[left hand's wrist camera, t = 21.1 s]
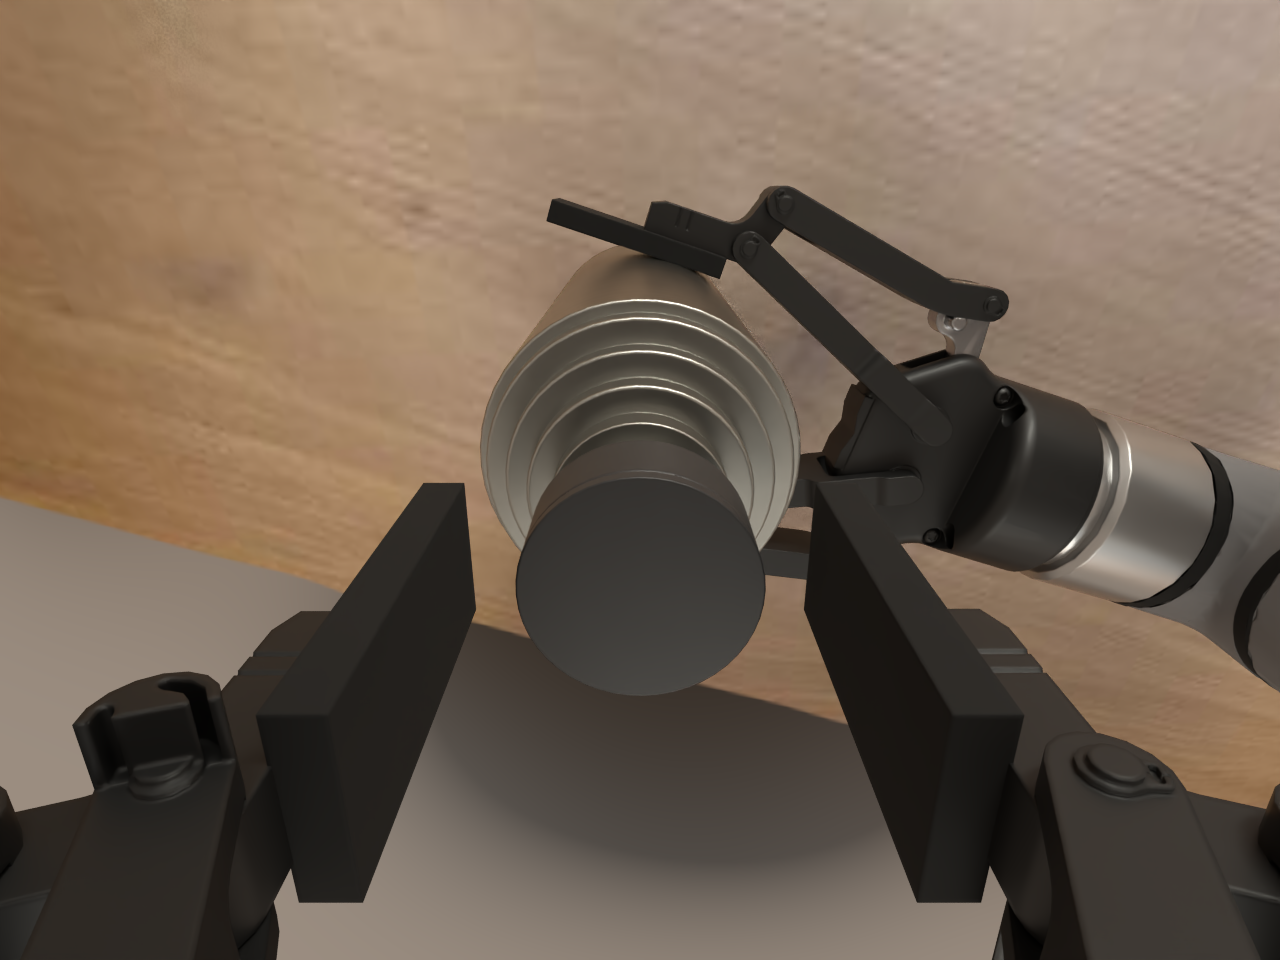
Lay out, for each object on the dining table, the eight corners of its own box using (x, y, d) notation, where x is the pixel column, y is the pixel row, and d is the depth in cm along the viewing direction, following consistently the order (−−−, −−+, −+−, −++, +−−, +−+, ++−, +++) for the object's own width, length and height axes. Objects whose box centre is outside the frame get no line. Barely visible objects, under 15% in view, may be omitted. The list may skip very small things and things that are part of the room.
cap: (553, 648, 15) (542, 710, 14) (509, 456, 14) (489, 497, 12) (759, 621, 15) (776, 680, 13) (738, 423, 14) (753, 459, 12)
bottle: (734, 399, 37) (878, 724, 15) (573, 425, 37) (476, 777, 15) (713, 228, 34) (852, 311, 12) (538, 259, 34) (354, 394, 12)
